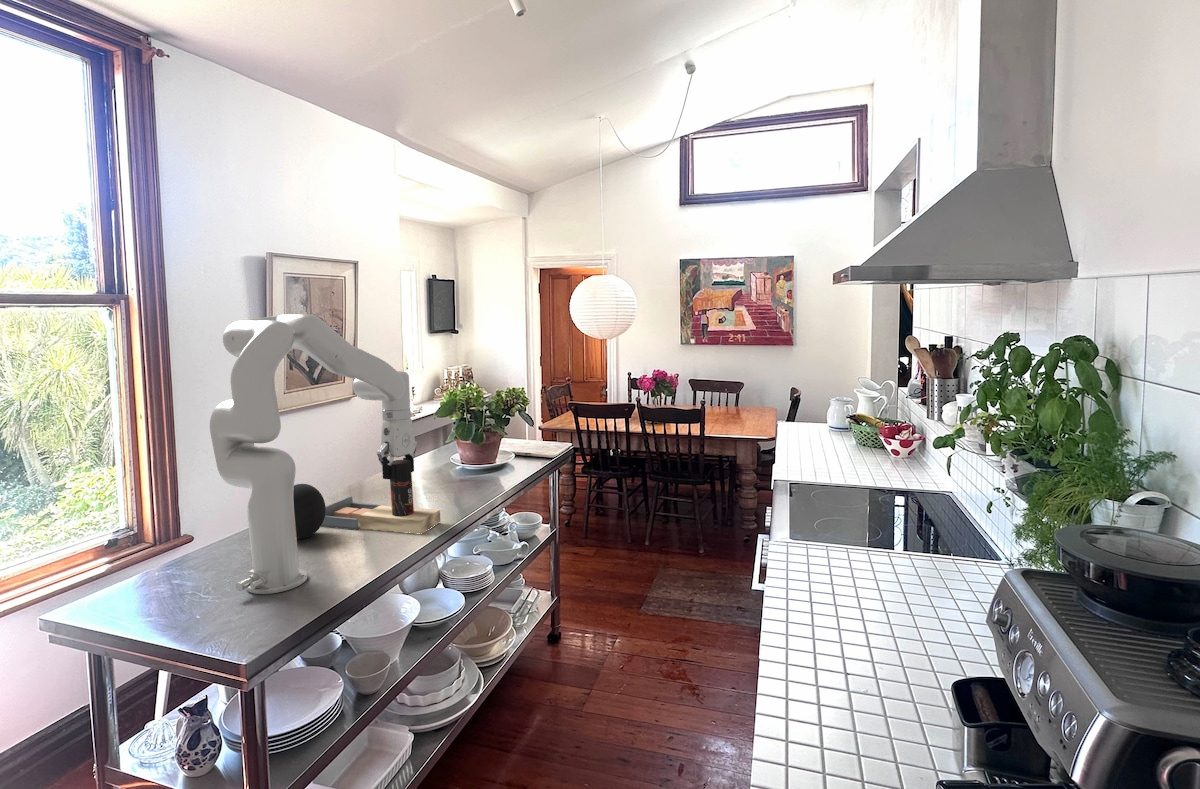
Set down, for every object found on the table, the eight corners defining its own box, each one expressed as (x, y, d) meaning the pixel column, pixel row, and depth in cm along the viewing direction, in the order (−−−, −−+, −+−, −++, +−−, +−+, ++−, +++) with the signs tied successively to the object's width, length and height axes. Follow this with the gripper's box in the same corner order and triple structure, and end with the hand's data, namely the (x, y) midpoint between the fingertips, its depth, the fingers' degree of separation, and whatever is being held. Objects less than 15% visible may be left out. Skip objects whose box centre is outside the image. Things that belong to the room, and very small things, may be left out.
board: (421, 534, 182) (420, 520, 181) (360, 528, 188) (359, 515, 187) (440, 523, 191) (439, 510, 191) (382, 517, 197) (381, 505, 197)
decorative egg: (277, 534, 184) (273, 482, 182) (325, 527, 190) (321, 476, 188) (279, 548, 174) (274, 493, 172) (330, 539, 179) (325, 486, 177)
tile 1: (333, 512, 194) (334, 520, 194) (347, 513, 192) (347, 521, 192) (345, 507, 199) (346, 515, 199) (359, 508, 197) (359, 516, 197)
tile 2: (365, 523, 191) (364, 514, 191) (351, 521, 193) (350, 513, 192) (376, 517, 196) (376, 509, 195) (363, 516, 197) (362, 508, 197)
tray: (356, 529, 187) (355, 512, 186) (319, 526, 191) (317, 509, 190) (386, 514, 200) (385, 498, 200) (351, 511, 204) (350, 495, 204)
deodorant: (410, 516, 185) (407, 464, 183) (389, 516, 186) (385, 464, 184) (416, 509, 191) (413, 459, 189) (396, 510, 191) (392, 459, 189)
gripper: (389, 420, 175) (391, 483, 177) (425, 412, 192) (427, 469, 194) (365, 419, 178) (368, 481, 180) (403, 411, 194) (405, 468, 196)
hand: (398, 475), depth 187 cm, fingers open, 9 cm apart
